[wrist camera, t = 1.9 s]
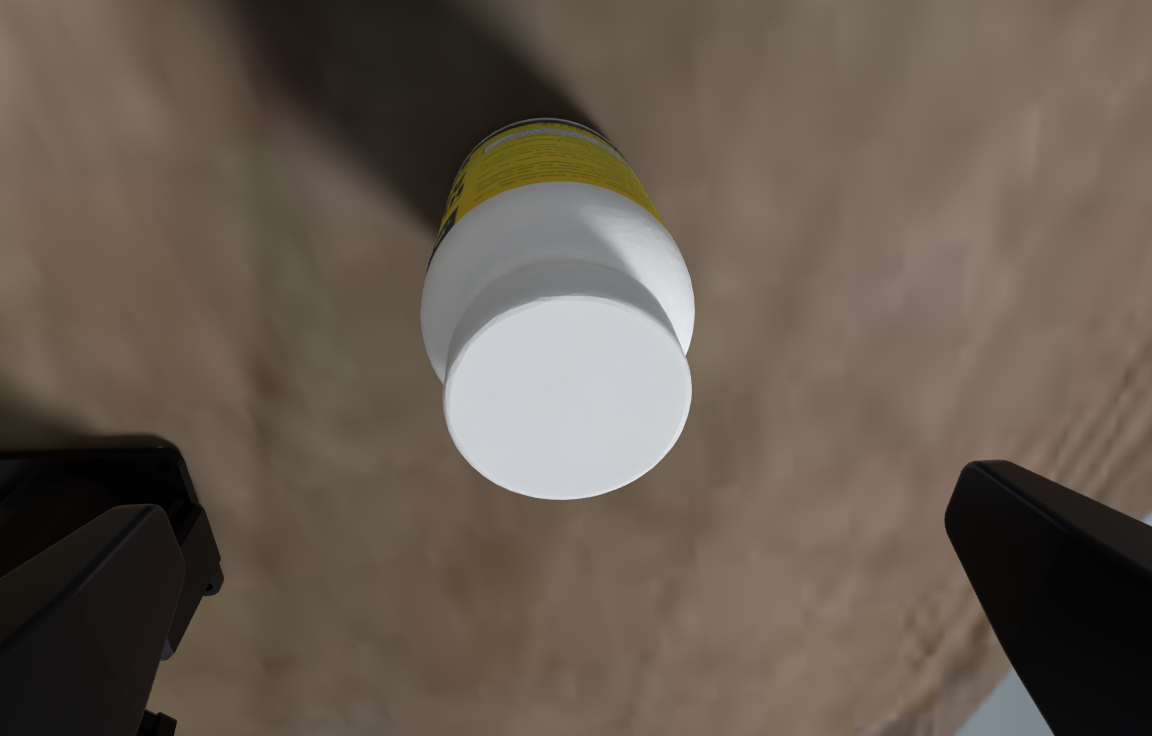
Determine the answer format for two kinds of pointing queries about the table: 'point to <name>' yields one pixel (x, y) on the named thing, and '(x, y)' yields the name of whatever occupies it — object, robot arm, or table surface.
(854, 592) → the table surface
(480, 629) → the table surface
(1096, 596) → the robot arm
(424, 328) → the supplement bottle
